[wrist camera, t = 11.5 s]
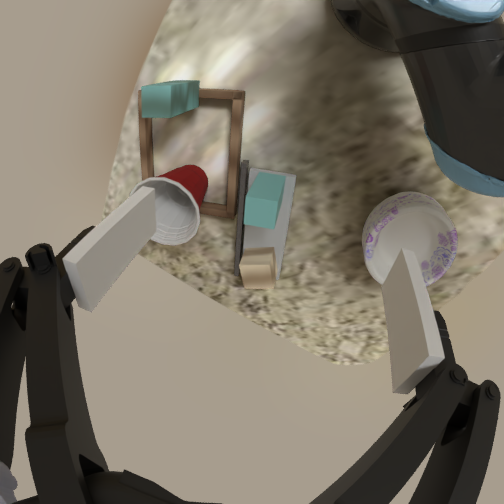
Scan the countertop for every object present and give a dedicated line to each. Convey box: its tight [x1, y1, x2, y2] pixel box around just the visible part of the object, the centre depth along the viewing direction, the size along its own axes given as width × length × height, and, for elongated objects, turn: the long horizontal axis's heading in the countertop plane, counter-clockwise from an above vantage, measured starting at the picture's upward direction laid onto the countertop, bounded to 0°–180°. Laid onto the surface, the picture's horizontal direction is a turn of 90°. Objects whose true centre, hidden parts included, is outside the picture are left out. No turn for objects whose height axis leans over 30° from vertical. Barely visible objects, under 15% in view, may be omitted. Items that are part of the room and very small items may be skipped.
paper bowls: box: [362, 191, 458, 286], centre depth 41 cm, size 15×15×8 cm
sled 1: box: [138, 80, 245, 219], centre depth 40 cm, size 22×16×11 cm
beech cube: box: [239, 247, 278, 289], centre depth 51 cm, size 5×5×5 cm
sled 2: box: [243, 168, 296, 280], centre depth 46 cm, size 20×7×10 cm, turn 176°
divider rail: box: [234, 160, 249, 276], centre depth 50 cm, size 22×1×2 cm, turn 176°
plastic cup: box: [129, 165, 208, 246], centre depth 43 cm, size 11×11×12 cm
